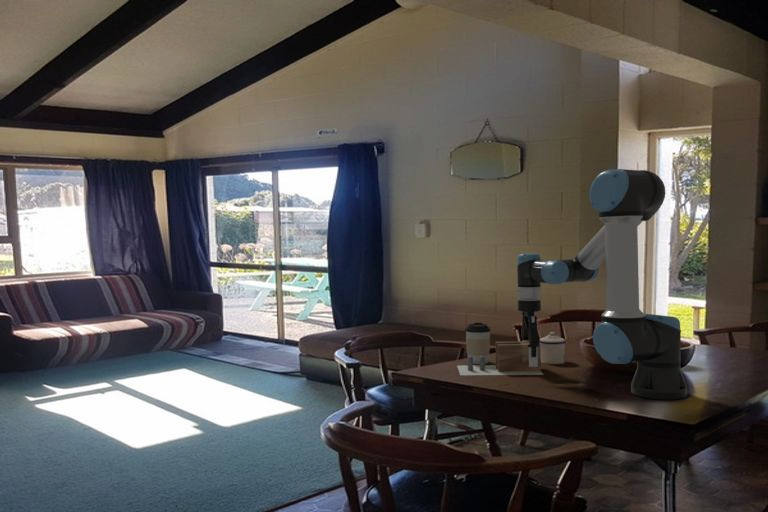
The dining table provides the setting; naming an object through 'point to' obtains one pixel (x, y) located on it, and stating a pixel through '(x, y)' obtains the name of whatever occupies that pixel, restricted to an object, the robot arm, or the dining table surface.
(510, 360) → the slotted block
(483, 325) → the coffee cup
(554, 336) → the teacup with lid
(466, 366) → the board
